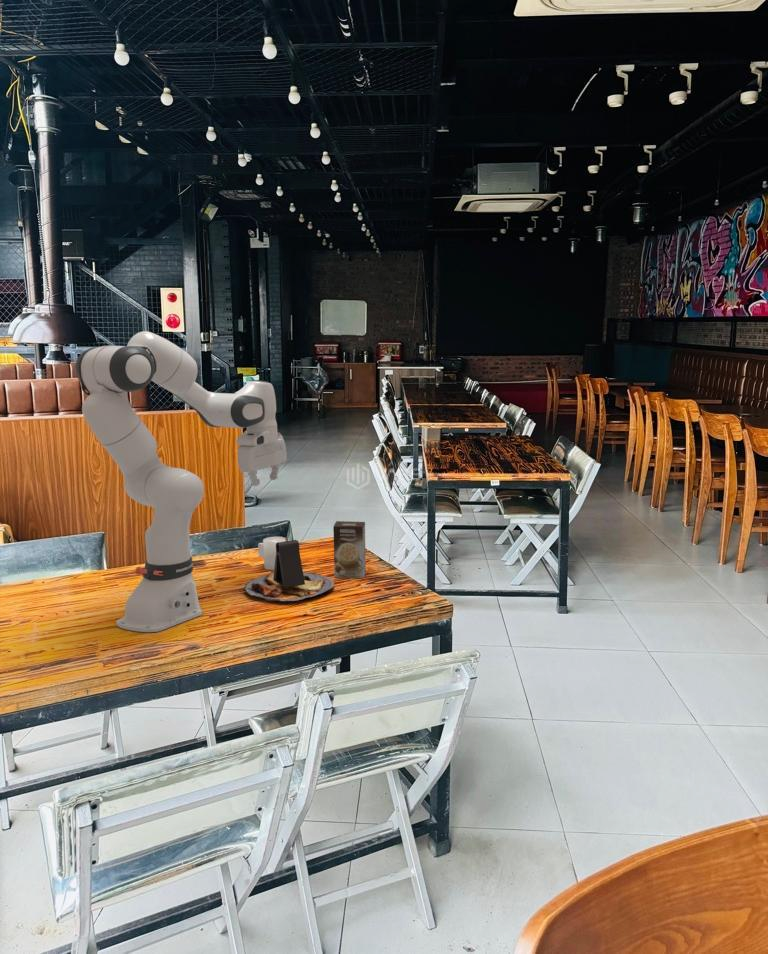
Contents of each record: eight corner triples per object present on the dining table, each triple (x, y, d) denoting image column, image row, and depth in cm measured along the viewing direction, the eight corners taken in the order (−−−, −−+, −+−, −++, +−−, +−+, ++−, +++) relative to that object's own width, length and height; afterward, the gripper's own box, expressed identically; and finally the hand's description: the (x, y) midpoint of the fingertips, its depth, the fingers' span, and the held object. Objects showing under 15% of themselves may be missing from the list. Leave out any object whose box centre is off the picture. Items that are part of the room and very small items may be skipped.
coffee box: (333, 578, 227) (331, 526, 224) (337, 571, 233) (335, 520, 230) (364, 578, 226) (362, 526, 223) (366, 572, 232) (365, 521, 229)
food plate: (228, 597, 212) (227, 585, 212) (276, 574, 233) (276, 563, 232) (303, 611, 201) (303, 599, 201) (347, 587, 222) (347, 575, 221)
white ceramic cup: (279, 571, 235) (277, 543, 233) (254, 568, 239) (252, 540, 237) (291, 565, 241) (289, 537, 240) (266, 562, 245) (265, 535, 243)
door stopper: (305, 584, 214) (303, 543, 212) (285, 588, 211) (283, 546, 209) (292, 576, 222) (291, 536, 220) (273, 580, 219) (271, 539, 217)
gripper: (273, 431, 232) (275, 475, 234) (232, 440, 213) (235, 488, 216) (290, 431, 229) (292, 476, 231) (251, 440, 211) (254, 489, 213)
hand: (264, 482), depth 224 cm, fingers open, 8 cm apart
